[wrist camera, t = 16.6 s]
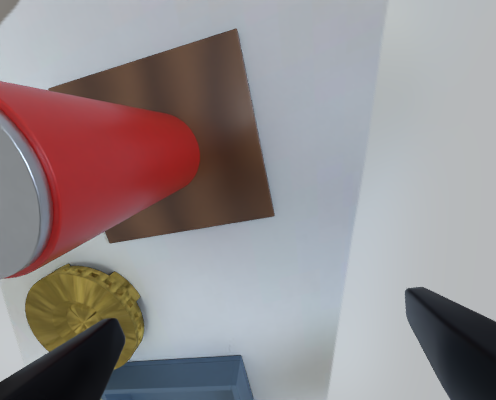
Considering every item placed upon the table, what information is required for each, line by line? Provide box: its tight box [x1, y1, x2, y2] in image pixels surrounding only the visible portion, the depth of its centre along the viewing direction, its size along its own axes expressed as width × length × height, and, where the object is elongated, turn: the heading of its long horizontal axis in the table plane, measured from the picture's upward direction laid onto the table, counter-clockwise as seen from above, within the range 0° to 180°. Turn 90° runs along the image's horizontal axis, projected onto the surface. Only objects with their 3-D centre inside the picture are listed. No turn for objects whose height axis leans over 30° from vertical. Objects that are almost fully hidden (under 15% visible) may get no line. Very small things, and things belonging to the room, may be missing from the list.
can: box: [0, 81, 200, 279], centre depth 13 cm, size 6×6×13 cm
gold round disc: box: [25, 264, 144, 369], centre depth 24 cm, size 12×12×2 cm
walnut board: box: [48, 29, 274, 243], centre depth 19 cm, size 16×14×1 cm
